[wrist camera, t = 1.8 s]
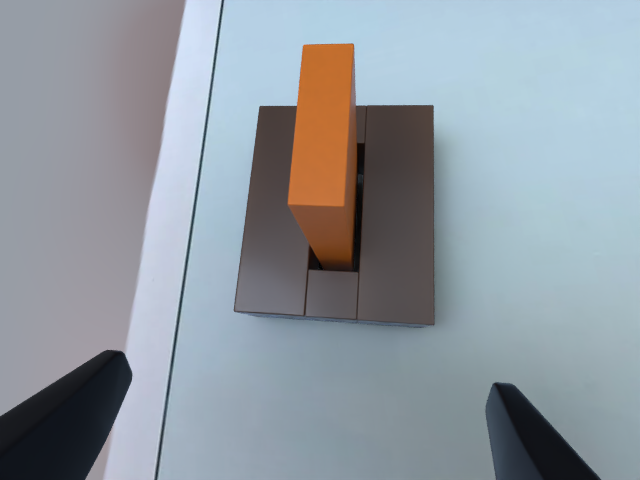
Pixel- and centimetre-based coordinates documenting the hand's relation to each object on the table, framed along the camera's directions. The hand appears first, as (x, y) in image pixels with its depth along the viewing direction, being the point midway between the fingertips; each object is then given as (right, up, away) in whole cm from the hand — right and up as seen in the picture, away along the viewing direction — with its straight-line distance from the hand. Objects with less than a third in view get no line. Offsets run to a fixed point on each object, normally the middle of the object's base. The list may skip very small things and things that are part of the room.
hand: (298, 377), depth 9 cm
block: (+2, +4, +15) cm, 15 cm away
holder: (+2, +4, +15) cm, 15 cm away
